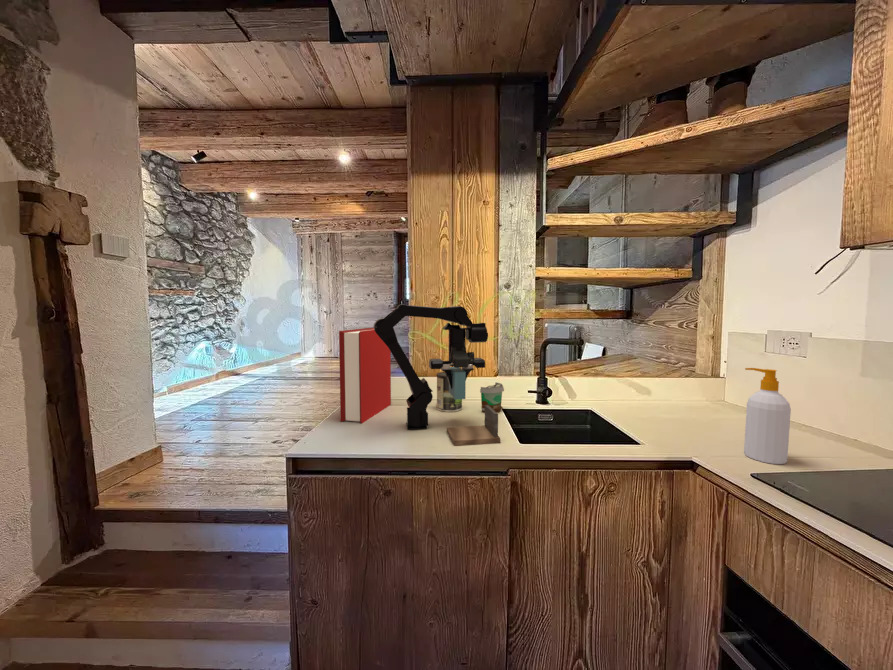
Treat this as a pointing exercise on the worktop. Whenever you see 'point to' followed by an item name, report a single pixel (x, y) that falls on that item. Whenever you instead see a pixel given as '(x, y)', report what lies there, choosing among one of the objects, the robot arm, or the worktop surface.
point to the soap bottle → (767, 422)
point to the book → (363, 374)
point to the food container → (492, 396)
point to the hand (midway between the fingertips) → (456, 388)
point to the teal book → (458, 383)
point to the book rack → (477, 431)
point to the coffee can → (446, 395)
